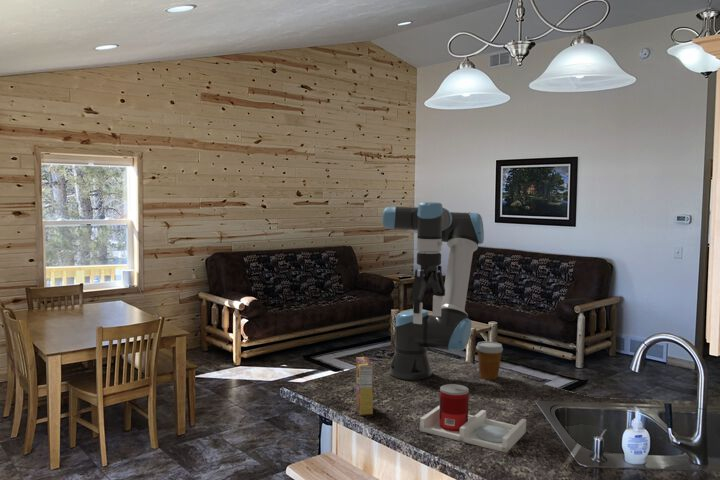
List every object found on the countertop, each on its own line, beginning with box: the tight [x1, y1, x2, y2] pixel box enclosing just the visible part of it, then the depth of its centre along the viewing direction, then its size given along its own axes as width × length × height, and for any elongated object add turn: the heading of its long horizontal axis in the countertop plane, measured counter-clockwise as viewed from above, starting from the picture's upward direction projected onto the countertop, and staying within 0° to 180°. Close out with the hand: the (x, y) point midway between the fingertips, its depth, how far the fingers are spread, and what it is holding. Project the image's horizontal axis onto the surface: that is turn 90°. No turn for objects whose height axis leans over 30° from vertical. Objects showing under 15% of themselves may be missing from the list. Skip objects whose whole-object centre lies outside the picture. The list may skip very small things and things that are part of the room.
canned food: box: [439, 383, 470, 431], centre depth 170 cm, size 8×8×11 cm
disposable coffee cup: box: [475, 340, 504, 380], centre depth 219 cm, size 10×10×12 cm
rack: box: [419, 404, 527, 453], centre depth 168 cm, size 16×25×4 cm, turn 57°
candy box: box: [355, 356, 374, 416], centre depth 185 cm, size 9×4×15 cm, turn 8°
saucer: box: [476, 425, 509, 443], centre depth 165 cm, size 9×9×1 cm
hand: (427, 319), depth 190 cm, fingers open, 13 cm apart
